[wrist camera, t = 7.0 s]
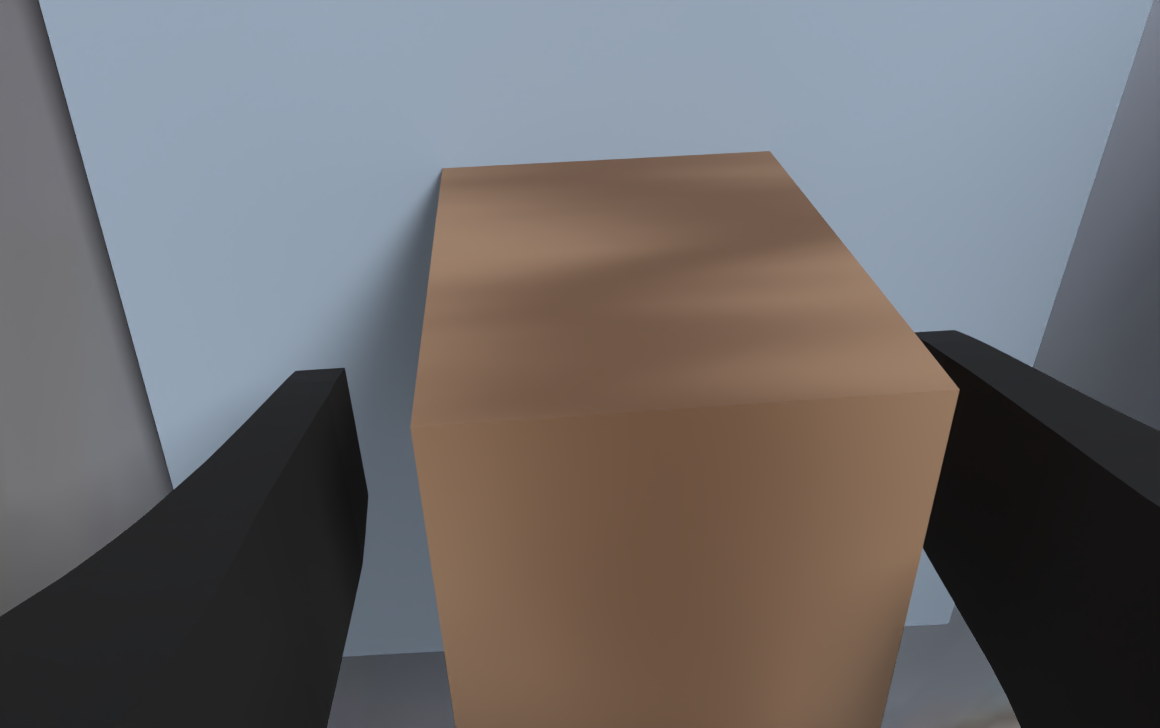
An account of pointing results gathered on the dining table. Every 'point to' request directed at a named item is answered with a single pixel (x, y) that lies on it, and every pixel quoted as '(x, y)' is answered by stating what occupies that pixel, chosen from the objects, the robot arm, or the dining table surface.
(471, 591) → the walnut block
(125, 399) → the dining table surface
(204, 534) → the robot arm
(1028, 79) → the slate mat
